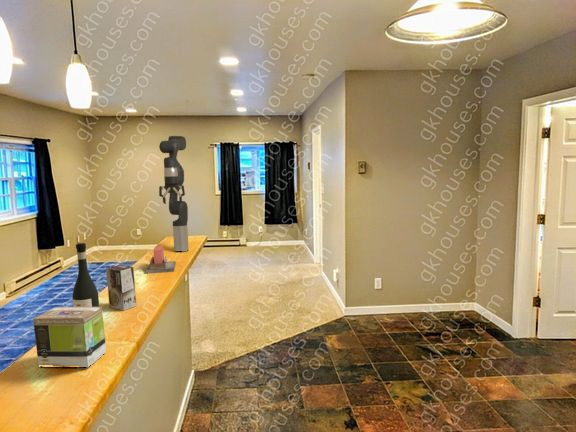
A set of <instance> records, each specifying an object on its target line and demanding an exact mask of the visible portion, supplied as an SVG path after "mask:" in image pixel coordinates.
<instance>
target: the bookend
mask: <svg viewBox="0 0 576 432" xmlns="http://www.w3.org/2000/svg"><path fill="white" fill-rule="evenodd" d="M167 262H168V263H167ZM164 263H165V268H166V267H172V266H173V262H171V261H168V257H167V255H166V256H165V255H164Z"/></svg>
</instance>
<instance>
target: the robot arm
mask: <svg viewBox="0 0 576 432" xmlns="http://www.w3.org/2000/svg"><path fill="white" fill-rule="evenodd" d="M158 146H159V147H158V148H159V151H160V152H161V153H162V154H168V157H164V158H163V166H164V167H163V168H164V169H163V178H164V179H163V180H164V186H163V185H159V186H158V187H159V188H158V192H159V194H158V195H159V197H161V198H162V203H163V204H164V205H166V204H167V198H166V196H167V194H169V196H168V197H169V199H168V211H169V214H171V215H172V216H178V218H177V219H175V220H173V221H172V233H173V234H172V235H173V251H174V250H175V251H186V252H188V251H189V247H190V246H189V234H188V233H189V232H188V230H189V229H188V222H189V221H188V220H189V217H188V215H189V211H188V209H189V208H188V204H187V202H186V201H184V200H183V197H184V196H185V195H186V193H185V192H186V191H185V185H183V184H184V182H185V170H184V168H183V167H182V165H181V164H180V162H179V161H178V152H179V151H185V150H186V148H187V139H186V136H185V137H184V136H181V135H169V137H168V139H167V140H161V142H159V145H158ZM163 190H165V192H164V194H163ZM180 190H181V192H182V193H181V192H180ZM178 196H179V198H178ZM187 250H188V251H187Z"/></svg>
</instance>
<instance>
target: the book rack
mask: <svg viewBox="0 0 576 432" xmlns="http://www.w3.org/2000/svg"><path fill="white" fill-rule="evenodd" d="M168 262H169V261H167V263H168ZM170 262H173V266H172V267H166V268H165V263H156V264H154V256H152V257H151V259H150V261H149V264H148V266H147V269H146V270H145V274H147V273H149V274H159V273H171V272H172V273H173V272H175V268H176V263H177V262H176V261H175V260H174V261H170ZM147 275H148V274H147Z"/></svg>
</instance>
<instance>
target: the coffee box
mask: <svg viewBox="0 0 576 432" xmlns="http://www.w3.org/2000/svg"><path fill="white" fill-rule="evenodd" d="M134 267H135V266H129V265H128V266H127V265H123V264H122V265H121V264H118V265H113V266H111V267H108V268H105V275H106V284H107V293H108V294H107V295H108V303H109V308H111V309H116V310H121V311H126V310H129V309H132V308H134V307H135V308H136V307H137V298H136V286H135V285H136V284H135V283H136V282H135V271H134V270H135V269H134Z"/></svg>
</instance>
